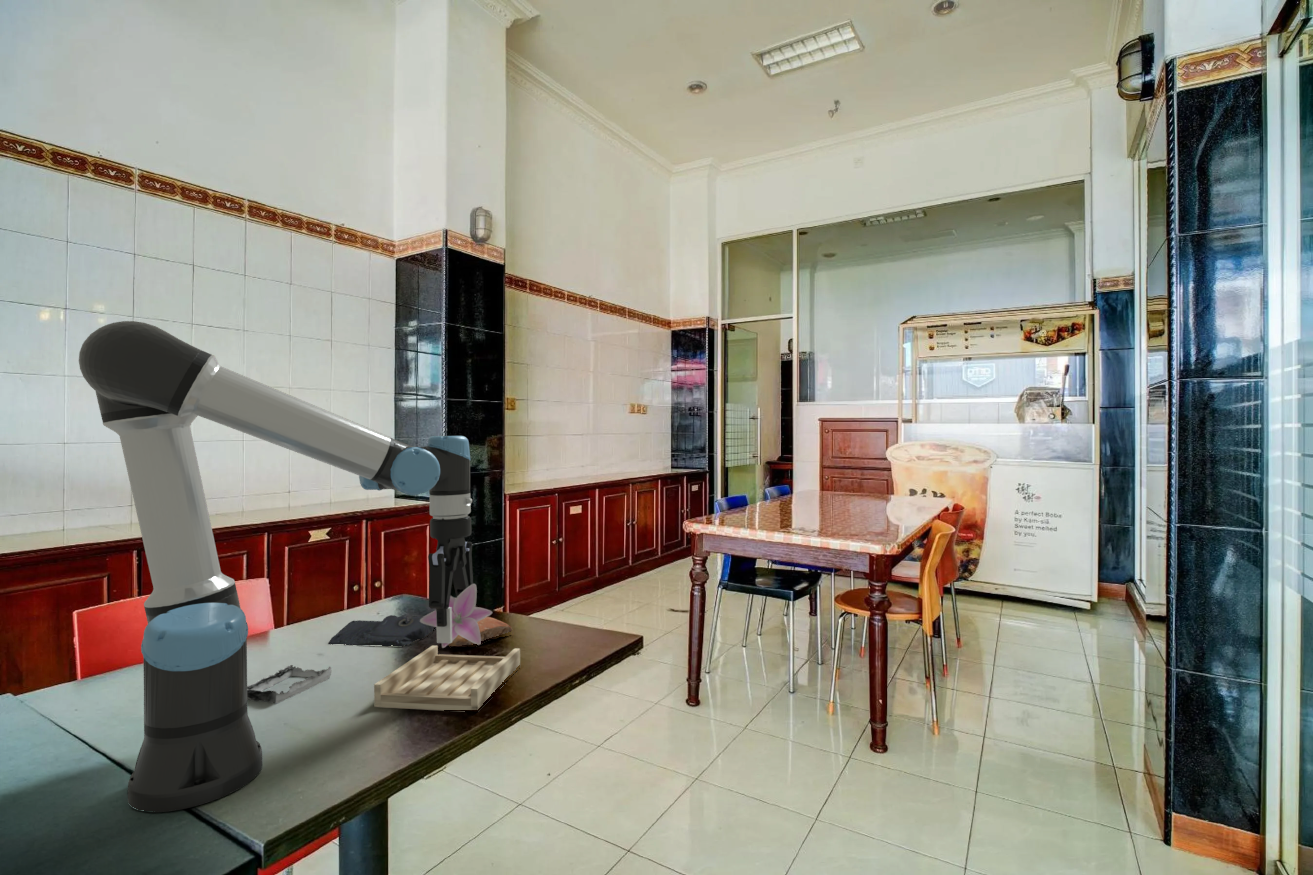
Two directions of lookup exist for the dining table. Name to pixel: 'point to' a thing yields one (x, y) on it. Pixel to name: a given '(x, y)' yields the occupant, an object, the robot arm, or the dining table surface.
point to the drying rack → (444, 681)
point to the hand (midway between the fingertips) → (453, 636)
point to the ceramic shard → (485, 631)
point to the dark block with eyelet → (382, 632)
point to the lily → (463, 616)
